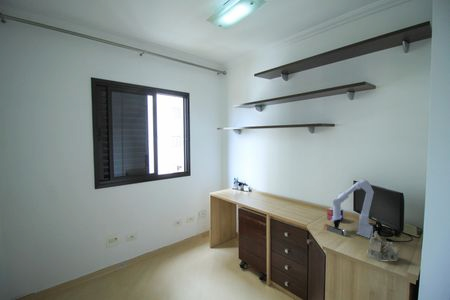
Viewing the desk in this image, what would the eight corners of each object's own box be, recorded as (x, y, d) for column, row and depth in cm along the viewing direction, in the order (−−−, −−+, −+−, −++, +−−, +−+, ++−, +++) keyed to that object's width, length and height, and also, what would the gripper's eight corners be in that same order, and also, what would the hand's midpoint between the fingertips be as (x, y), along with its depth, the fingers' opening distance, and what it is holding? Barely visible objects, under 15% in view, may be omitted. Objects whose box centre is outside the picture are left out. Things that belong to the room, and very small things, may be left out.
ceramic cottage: (362, 255, 142) (364, 233, 140) (373, 248, 151) (376, 228, 149) (390, 268, 129) (393, 244, 127) (400, 260, 138) (403, 238, 136)
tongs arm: (343, 234, 172) (343, 229, 172) (342, 234, 171) (343, 230, 171) (325, 228, 184) (325, 224, 184) (324, 228, 184) (324, 224, 183)
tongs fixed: (347, 235, 170) (347, 230, 170) (345, 236, 168) (345, 231, 168) (325, 228, 184) (325, 223, 184) (323, 229, 183) (323, 224, 182)
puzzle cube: (337, 222, 197) (337, 211, 197) (327, 218, 206) (327, 208, 205) (343, 219, 203) (343, 209, 202) (332, 216, 211) (332, 206, 211)
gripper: (336, 209, 188) (336, 224, 189) (327, 212, 180) (327, 228, 180) (344, 211, 182) (344, 226, 183) (336, 215, 174) (335, 231, 175)
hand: (336, 227), depth 181 cm, fingers closed
